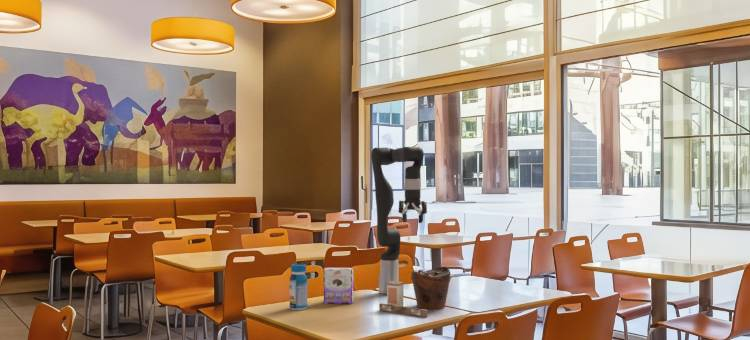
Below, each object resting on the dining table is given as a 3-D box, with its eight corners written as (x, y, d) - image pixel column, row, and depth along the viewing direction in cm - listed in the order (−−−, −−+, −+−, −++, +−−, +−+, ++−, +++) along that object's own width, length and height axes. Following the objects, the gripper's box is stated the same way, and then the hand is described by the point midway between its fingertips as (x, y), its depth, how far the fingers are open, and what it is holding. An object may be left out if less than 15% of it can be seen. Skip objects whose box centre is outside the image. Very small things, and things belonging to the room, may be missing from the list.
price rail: (379, 310, 290) (379, 304, 290) (380, 310, 291) (380, 303, 291) (425, 317, 276) (425, 310, 276) (427, 316, 277) (427, 309, 277)
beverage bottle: (304, 310, 289) (304, 266, 289) (286, 310, 291) (286, 265, 291) (310, 307, 297) (310, 263, 298) (292, 306, 299) (292, 263, 299)
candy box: (353, 301, 310) (353, 267, 310) (352, 304, 304) (352, 269, 304) (325, 301, 311) (325, 266, 311) (323, 303, 305) (323, 268, 306)
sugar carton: (387, 309, 292) (387, 282, 292) (392, 307, 297) (392, 281, 297) (398, 310, 290) (398, 283, 290) (403, 308, 295) (403, 282, 295)
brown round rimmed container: (403, 308, 294) (404, 268, 294) (421, 300, 312) (421, 263, 312) (439, 312, 286) (440, 272, 286) (455, 305, 304) (456, 267, 304)
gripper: (429, 188, 307) (429, 222, 307) (403, 188, 315) (403, 221, 315) (421, 188, 301) (421, 223, 301) (395, 188, 309) (395, 222, 309)
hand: (412, 222), depth 308 cm, fingers open, 8 cm apart
